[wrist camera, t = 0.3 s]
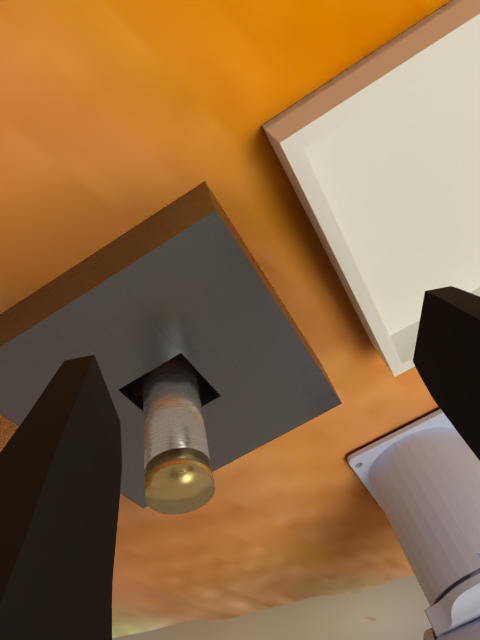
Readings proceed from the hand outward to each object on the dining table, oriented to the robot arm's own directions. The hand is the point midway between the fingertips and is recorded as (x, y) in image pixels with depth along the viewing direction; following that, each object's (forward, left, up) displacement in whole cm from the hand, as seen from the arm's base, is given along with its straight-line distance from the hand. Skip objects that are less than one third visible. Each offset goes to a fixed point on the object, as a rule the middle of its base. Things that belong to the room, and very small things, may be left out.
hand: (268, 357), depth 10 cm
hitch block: (-5, +6, -10) cm, 13 cm away
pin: (-5, +6, -10) cm, 13 cm away
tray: (-5, -10, -10) cm, 15 cm away
